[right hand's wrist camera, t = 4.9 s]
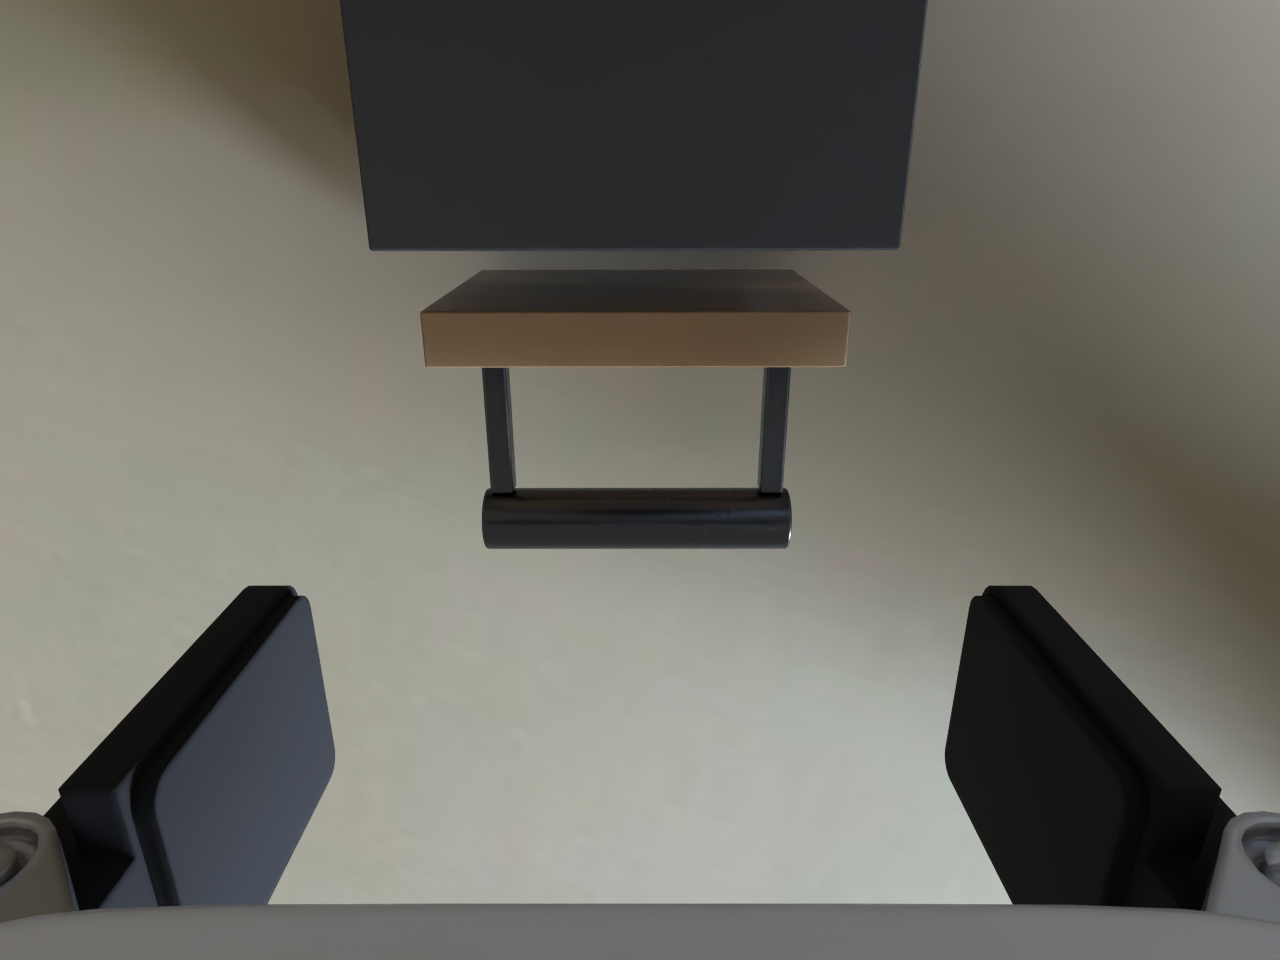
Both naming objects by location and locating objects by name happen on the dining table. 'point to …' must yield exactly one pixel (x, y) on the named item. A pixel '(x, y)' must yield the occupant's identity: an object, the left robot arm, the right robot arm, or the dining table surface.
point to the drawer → (635, 337)
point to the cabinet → (634, 123)
